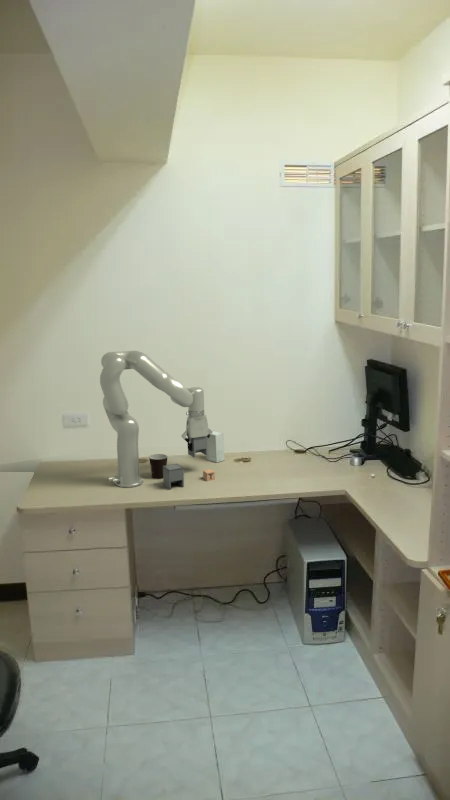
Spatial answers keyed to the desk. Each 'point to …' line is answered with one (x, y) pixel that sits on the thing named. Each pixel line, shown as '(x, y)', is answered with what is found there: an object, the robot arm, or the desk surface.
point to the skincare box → (215, 447)
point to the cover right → (198, 446)
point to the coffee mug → (157, 465)
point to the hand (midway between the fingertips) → (197, 449)
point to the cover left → (173, 475)
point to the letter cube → (208, 475)
